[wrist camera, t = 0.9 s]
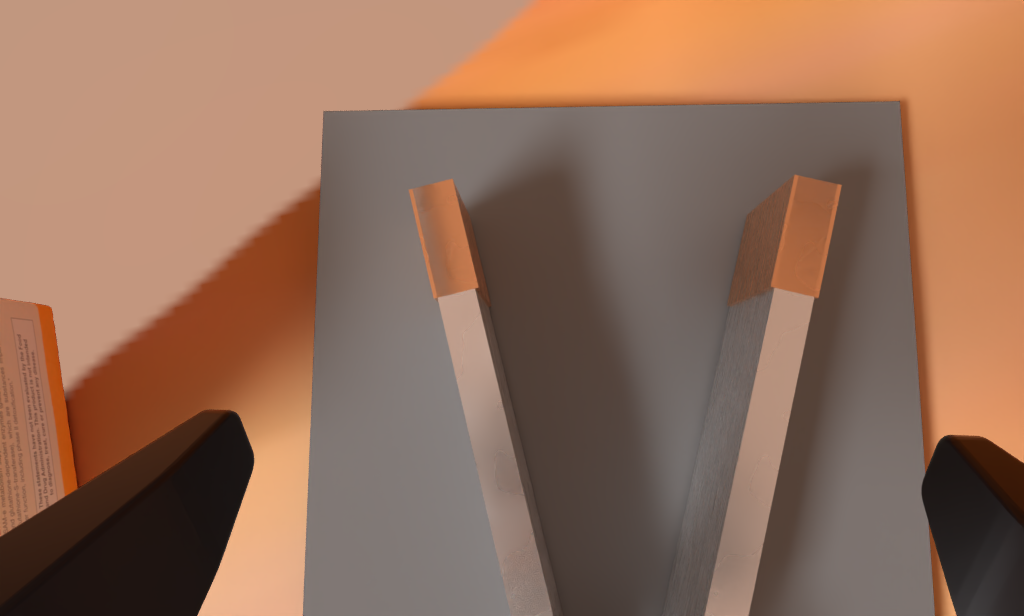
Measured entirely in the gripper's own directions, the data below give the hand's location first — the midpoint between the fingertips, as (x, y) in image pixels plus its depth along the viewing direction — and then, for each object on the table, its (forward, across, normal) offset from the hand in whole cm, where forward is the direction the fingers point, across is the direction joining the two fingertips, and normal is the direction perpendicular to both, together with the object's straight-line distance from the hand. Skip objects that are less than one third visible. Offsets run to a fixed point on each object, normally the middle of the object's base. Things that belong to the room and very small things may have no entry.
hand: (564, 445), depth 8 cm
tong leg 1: (+8, +2, +8) cm, 12 cm away
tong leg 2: (+9, -4, +8) cm, 13 cm away
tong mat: (+10, -1, +9) cm, 13 cm away
